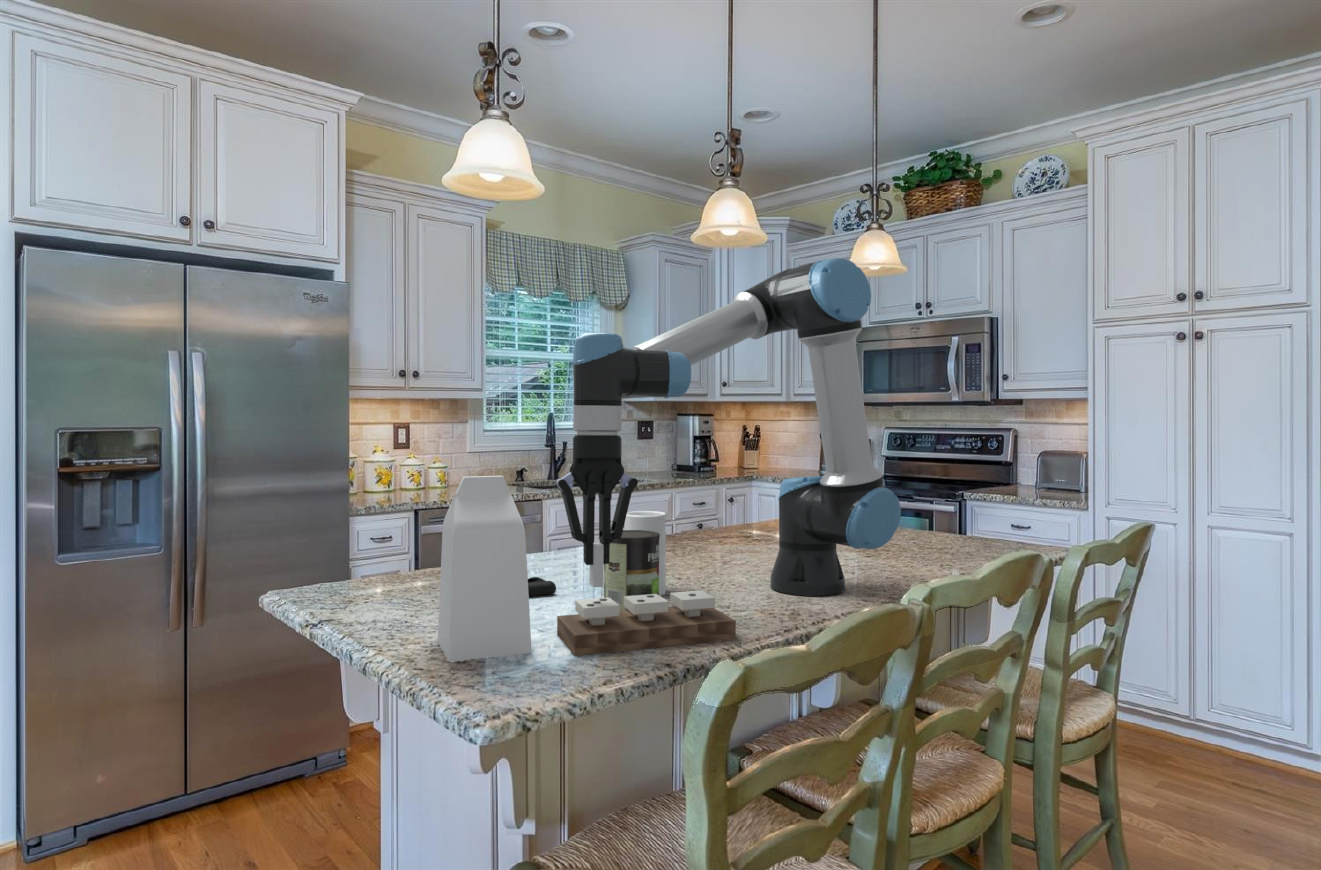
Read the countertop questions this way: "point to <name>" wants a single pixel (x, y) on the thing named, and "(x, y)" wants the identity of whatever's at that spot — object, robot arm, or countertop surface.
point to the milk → (483, 574)
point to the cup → (656, 524)
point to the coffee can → (632, 566)
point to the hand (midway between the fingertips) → (596, 585)
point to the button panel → (644, 631)
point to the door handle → (540, 587)
